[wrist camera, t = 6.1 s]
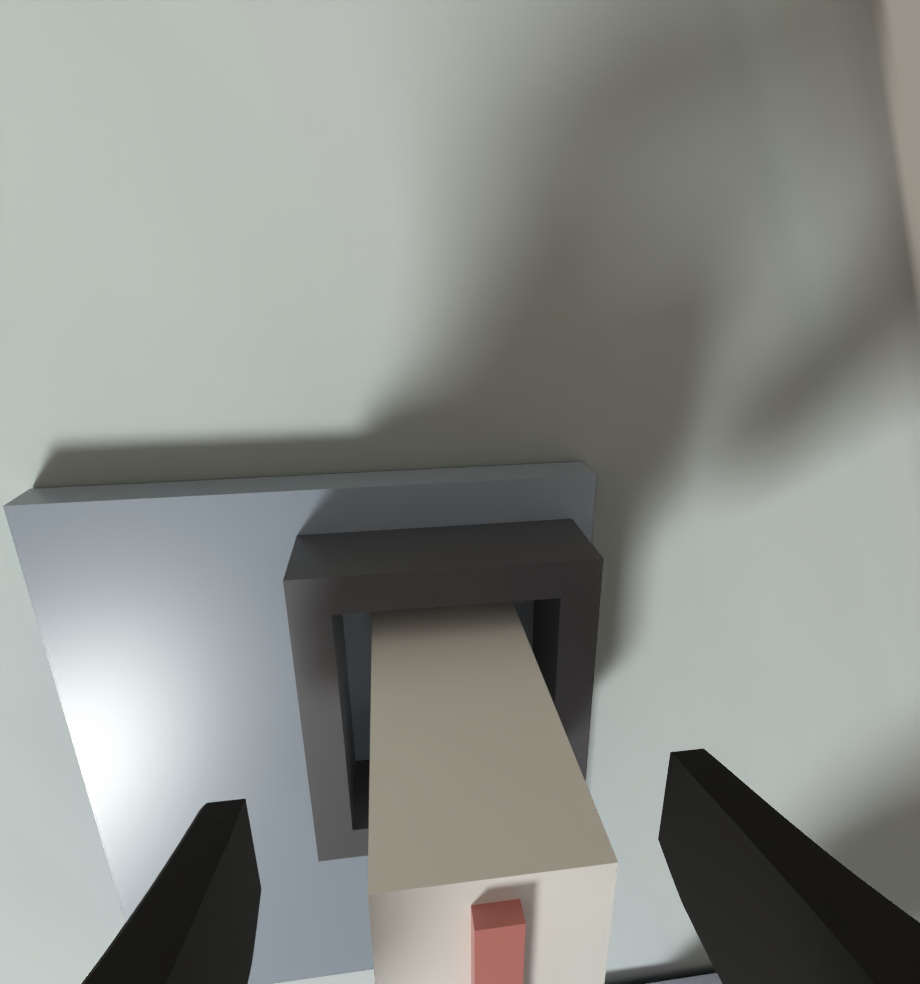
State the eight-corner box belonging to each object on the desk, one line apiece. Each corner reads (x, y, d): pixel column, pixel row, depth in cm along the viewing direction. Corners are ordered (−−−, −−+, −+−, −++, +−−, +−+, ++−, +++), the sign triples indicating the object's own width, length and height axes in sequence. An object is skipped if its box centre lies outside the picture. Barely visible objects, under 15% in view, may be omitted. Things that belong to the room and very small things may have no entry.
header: (557, 763, 16) (581, 829, 14) (325, 789, 15) (318, 861, 13) (572, 518, 13) (603, 558, 12) (296, 535, 13) (282, 580, 11)
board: (554, 909, 19) (569, 962, 18) (160, 963, 18) (141, 1026, 16) (582, 461, 14) (606, 483, 13) (30, 489, 13) (-17, 517, 11)
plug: (501, 723, 15) (602, 1090, 8) (381, 735, 15) (385, 1128, 8) (505, 582, 14) (627, 887, 7) (372, 592, 13) (367, 920, 7)
